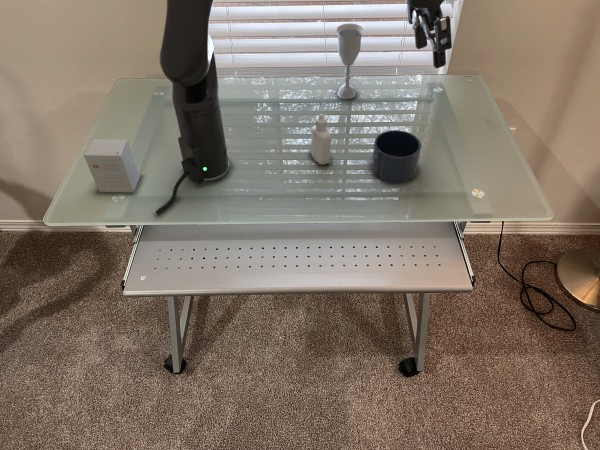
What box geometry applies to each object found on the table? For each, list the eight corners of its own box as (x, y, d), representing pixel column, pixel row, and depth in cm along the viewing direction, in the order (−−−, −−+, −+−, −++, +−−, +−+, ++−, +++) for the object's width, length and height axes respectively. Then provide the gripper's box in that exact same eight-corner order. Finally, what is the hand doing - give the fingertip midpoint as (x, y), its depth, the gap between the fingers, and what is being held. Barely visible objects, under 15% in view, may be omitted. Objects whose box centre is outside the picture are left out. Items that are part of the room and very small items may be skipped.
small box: (141, 176, 115) (128, 139, 107) (133, 193, 111) (120, 155, 103) (106, 175, 115) (92, 138, 108) (98, 192, 111) (82, 154, 104)
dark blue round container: (395, 189, 110) (399, 164, 105) (362, 167, 116) (364, 142, 111) (425, 169, 115) (430, 144, 110) (392, 149, 120) (395, 124, 115)
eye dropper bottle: (311, 165, 116) (311, 122, 108) (311, 150, 120) (311, 107, 112) (330, 165, 116) (331, 121, 108) (329, 150, 120) (330, 107, 112)
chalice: (357, 102, 135) (361, 37, 122) (332, 100, 136) (334, 35, 123) (360, 88, 140) (365, 24, 127) (336, 85, 141) (338, 22, 128)
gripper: (389, -33, 92) (398, 47, 104) (421, -6, 82) (427, 80, 94) (428, -47, 92) (433, 35, 104) (464, -22, 82) (465, 66, 94)
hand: (430, 56), depth 99 cm, fingers open, 8 cm apart
